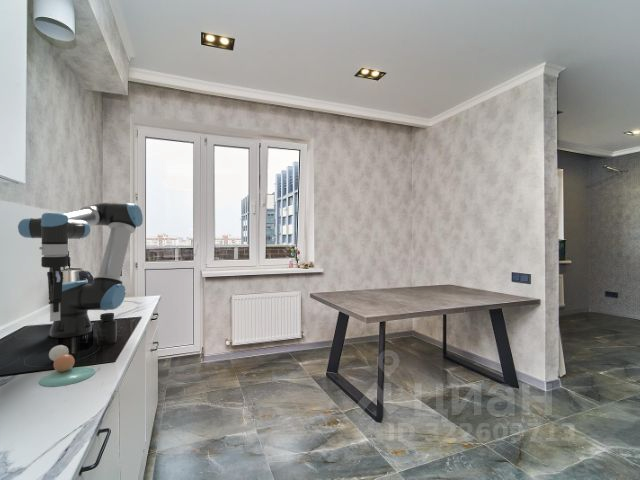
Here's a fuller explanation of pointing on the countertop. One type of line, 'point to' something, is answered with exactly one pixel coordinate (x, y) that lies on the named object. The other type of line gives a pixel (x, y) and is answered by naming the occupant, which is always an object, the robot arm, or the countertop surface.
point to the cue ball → (58, 351)
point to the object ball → (64, 363)
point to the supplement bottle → (107, 329)
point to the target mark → (66, 377)
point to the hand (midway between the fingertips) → (55, 320)
